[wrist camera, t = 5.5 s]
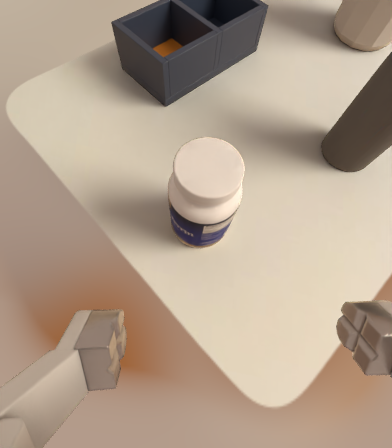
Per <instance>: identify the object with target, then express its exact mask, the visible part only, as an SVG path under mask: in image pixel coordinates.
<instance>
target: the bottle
mask: <svg viewBox="0 0 392 448" xmlns="http://www.w3.org/2000/svg"><path fill="white" fill-rule="evenodd" d="M391 145H392V52H391V53H390V54H389V56H388V57H387V58H386V59H385V60H384V62H383V63H382V64H381V65H380V67H379V68H378V69H377V71H376V72H375V73H374V74H373V76H372V77H371V78H370V80H369V81H368V82H367V84H366V85H365V86H364V87H363V89H362V90H361V91H360V93H359V94H358V95H357V96H356V98H355V99H354V100H353V102H352V103H351V104H350V105H349V107H348V108H347V109H346V111H345V112H344V113H343V115H342V116H341V117H340V118H339V120H338V121H337V122H336V124H335V125H334V126H333V128H332V129H331V130H330V131H329V133H328V134H327V135H326V137H325V138H324V140H323V142H322V146H321V148H322V153H323V155H324V157H325V159H326V160H327V161H328V162H329V163H330V164H331V165H333V166H334V167H336V168H338V169H340V170H343V171H347V172H355V171H359V170H361V169H363V168H365V167H366V166H367V165H368V164H370V163H371V162H372V161H373V160H374V159H376V158H377V157H378V156H379V155H380V154H382V153H383V152H384V151H385V150H386V149H388V148H389V147H390V146H391Z"/></svg>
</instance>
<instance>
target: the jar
mask: <svg viewBox="0 0 392 448" xmlns="http://www.w3.org/2000/svg"><path fill="white" fill-rule="evenodd" d="M334 27H335V32H336V34H337V36H338V37H339V39H340V40H341V41H342V42H344V43H345V44H347V45H348V46H350V47H351V48H355V49H359V50H363V51H374V50H379V49H381V48H383V47H386V46H387V45H389V44H390V43H392V0H343V1H342V3H341V5H340V7H339V9H338V11H337V13H336V16H335V21H334Z"/></svg>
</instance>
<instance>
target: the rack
mask: <svg viewBox="0 0 392 448" xmlns="http://www.w3.org/2000/svg"><path fill="white" fill-rule="evenodd" d="M267 9H268V5H267V4H265V3H263V2H262V1H260V0H159V1H157V2H155V3H152V4H150V5H148V6H146V7H144V8H141V9H139V10H137V11H135V12H132V13H130V14H128V15H126V16H124V17H121V18H119V19H117V20H115V21H112V27H113V32H114V36H115V40H116V44H117V49H118V53H119V57H120V61H121V66H122V69H123V70H125V71H126V72H127V73H128V74H129V75H130V76H131V77H133V78H134V79H135V80H136V81H137V82H138V83H139V84H140V85H142V86H143V87H144V88H145V89H146V90H147V91H148V92H150V93H151V94H152V95H153V96H154V97H155V98H156V99H158V100H159V101H160V102H161V103H162V104H163V105H164V106H168V105H169V104H171V103H173V102H174V101H176V100H178V99H179V98H181V97H182V96H184V95H186V94H187V93H189V92H190V91H192V90H194V89H195V88H197V87H198V86H200V85H202V84H203V83H205V82H206V81H208V80H210V79H211V78H213V77H215V76H216V75H218V74H219V73H221V72H223V71H224V70H226V69H227V68H229V67H231V66H232V65H234V64H235V63H237V62H239V61H240V60H242V59H243V58H245V57H247V56H248V55H250V54H252V53H253V52H255V51H256V49H257V46H258V42H259V38H260V35H261V31H262V27H263V24H264V20H265V16H266V13H267Z"/></svg>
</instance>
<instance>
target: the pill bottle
mask: <svg viewBox="0 0 392 448" xmlns="http://www.w3.org/2000/svg"><path fill="white" fill-rule="evenodd" d="M244 172H245V168H244V162H243V159H242V157H241V155H240V153H239V152H238V151H237V149H236V148H235V147H233V146H232V145H231V144H229V143H228V142H226V141H224V140H221V139H218V138H213V137H201V138H196V139H193V140H191V141H189V142H187V143H186V144H184V145H183V146H182V147H181V148H180V149H179V150H178V152H177V154H176V156H175V158H174V162H173V173H172V174H171V177H170V179H169V183H168V198H169V207H170V216H171V224H172V228H173V231H174V233H175V235H176V236H177V238H178V239H179V240H180V241H182V242H183V243H184V244H186V245H188V246H190V247H195V248H205V247H210V246H212V245H214V244H216V243H217V242H218V241H220V240H221V239H222V237H223V236H224V235H225V233H226V231H227V229H228V227H229V225H230V223H231V221H232V219H233V217H234V215H235V213H236V211H237V209H238V207H239V205H240V202H241V199H242V184H241V183H242V180H243V177H244Z"/></svg>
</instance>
